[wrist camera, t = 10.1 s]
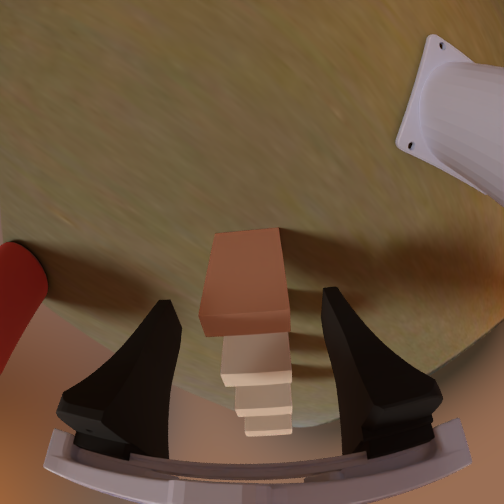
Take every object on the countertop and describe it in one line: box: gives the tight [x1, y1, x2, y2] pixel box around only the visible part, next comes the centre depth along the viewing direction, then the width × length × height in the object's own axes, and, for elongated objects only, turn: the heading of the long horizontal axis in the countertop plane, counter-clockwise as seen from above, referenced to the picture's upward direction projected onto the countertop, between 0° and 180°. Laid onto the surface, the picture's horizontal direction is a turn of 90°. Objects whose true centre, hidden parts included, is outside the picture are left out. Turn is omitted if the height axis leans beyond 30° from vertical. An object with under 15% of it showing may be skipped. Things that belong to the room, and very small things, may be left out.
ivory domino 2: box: [235, 383, 292, 417], centre depth 21 cm, size 2×4×7 cm, turn 97°
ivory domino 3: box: [244, 414, 292, 436], centre depth 24 cm, size 2×4×7 cm, turn 96°
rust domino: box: [198, 227, 291, 337], centre depth 16 cm, size 2×4×7 cm, turn 97°
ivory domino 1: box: [221, 332, 292, 387], centre depth 18 cm, size 2×4×7 cm, turn 96°
